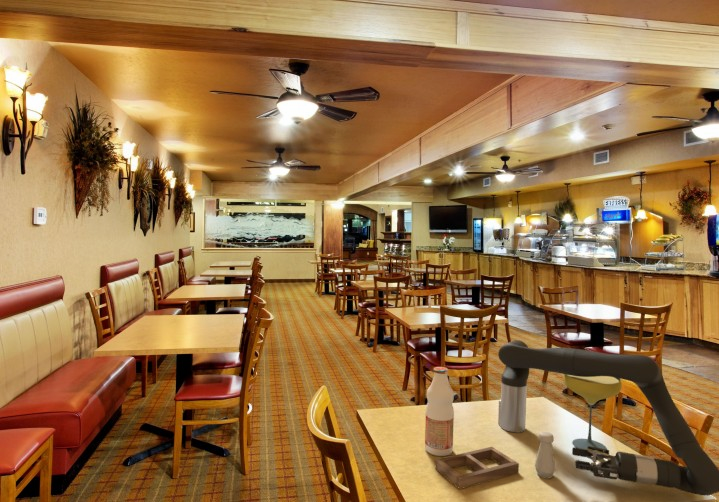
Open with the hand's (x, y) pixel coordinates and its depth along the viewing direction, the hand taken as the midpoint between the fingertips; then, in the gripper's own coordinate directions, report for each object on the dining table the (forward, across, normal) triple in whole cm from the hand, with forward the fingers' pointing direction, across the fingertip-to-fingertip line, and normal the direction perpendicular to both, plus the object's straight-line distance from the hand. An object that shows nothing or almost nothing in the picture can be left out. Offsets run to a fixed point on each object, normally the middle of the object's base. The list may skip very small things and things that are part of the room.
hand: (573, 457), depth 134 cm
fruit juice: (+41, -3, +7) cm, 42 cm away
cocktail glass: (-8, -27, +7) cm, 29 cm away
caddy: (+28, +6, +7) cm, 29 cm away
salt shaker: (+8, 0, +7) cm, 11 cm away
